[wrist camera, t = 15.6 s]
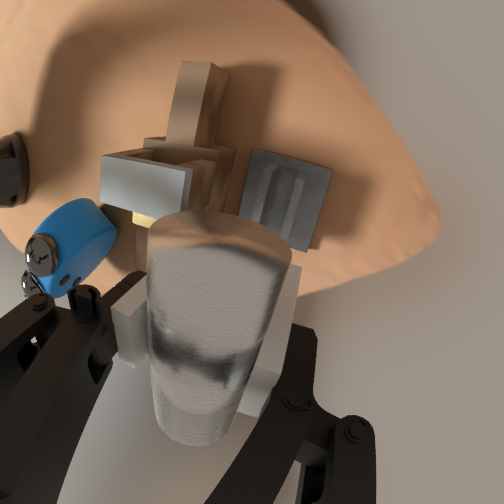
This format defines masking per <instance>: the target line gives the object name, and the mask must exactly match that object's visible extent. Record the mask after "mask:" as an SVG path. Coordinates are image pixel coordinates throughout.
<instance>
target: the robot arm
mask: <svg viewBox="0 0 504 504" xmlns="http://www.w3.org/2000/svg"><path fill="white" fill-rule="evenodd" d="M28 185H29V166H28V158H27V153H26V149H25V146H24V143H23V141H22V139H21V138H20V137H19V136H18V135H17V134H10V135H6V136H4V137H2V138H1V139H0V208H12V207H15V206H18V205H20V204H22V203H23V202H24V200H25V198H26V195H27V191H28ZM301 270H302V267H299V266H296V265H293V264H290V266H289V269H288V272H287V275H286V278H285V281H284V284H283V287H282V290H281V293H280V296H279V299H278V302H277V304H276V307H275V310H274V313H273V316H272V319H271V322H270V324H269V327H268V330H267V333H266V334H265V336H264V339H263V342H262V344H261V347H260V350H259V353H258V355H257V358H256V361H255V363H254V366H253V369H252V371H251V374H250V377H249V379H248V382H247V385H246V387H245V390H244V393H243V396H242V399H241V402H240V404H239V407H238V410H237V411H238V412H241V413H244V414H247V415H251V416H254V417H259V419H258V422H257V424H256V426H255V427H254V429H253V431H252V432H251V434H250V436H249V437H248V439H247V441H246V442H245V444H244V445H243V447H242V449H241V450H240V452H239V453H238V455H237V456H236V458H235V460H234V461H233V463H232V464H231V466H230V467H229V469H228V470H227V472H226V473H225V475H224V476H223V477H222V479H221V480H220V482H219V483H218V485H217V486H216V488H215V489H214V491H213V492H212V493H211V495H210V496H209V497H208V499H207V500H206V501H205V503H204V504H273V502H274V500H275V498H276V496H277V495H278V493H279V491H280V489H281V487H282V485H283V483H284V481H285V479H286V477H287V475H288V473H289V470H290V469H291V466H292V464H293V462H294V460H296V461H298V462H300V463H301V470H300V477H299V483H298V490H297V496H296V502H295V504H376V450H375V435H374V430H373V427H372V426H371V424H370V423H369V422H368V421H367V420H366V419H364V418H362V417H359V416H357V415H348V416H346V417H343V418H341V419H340V418H338V417H336V416H334V415H332V414H330V413H328V412H327V411H325V410H324V409H322V408H321V407H320V406H319V405H318V404H317V402H316V400H315V398H314V395H313V383H314V374H315V364H316V352H317V351H316V350H317V341H318V339H317V337H316V335H315V332H314V330H313V329H311V328H307V327H303V326H300V325H297V324H294V323H292V319H293V314H294V309H295V304H296V298H297V293H298V287H299V282H300V276H301ZM67 294H68V299H69V303H70V308H71V310H70V309H65V308H62V307H58V306H56V305H55V301H54V298H53V297H52V296H51V295H50V294H48V293H37V294H34V295H32V296H30V297H29V298H28V299H26V300H25V301H23V302H22V303H20V304H19V305H18V306H16V307H15V308H14V309H12V310H11V311H10V312H8V313H7V314H6V315H4V316H3V317H2V318H0V504H56V503H57V500H58V497H59V494H60V491H61V488H62V485H63V482H64V479H65V476H66V473H67V470H68V468H69V465H70V462H71V460H72V457H73V455H74V452H75V449H76V447H77V444H78V442H79V440H80V437H81V435H82V432H83V430H84V427H85V425H86V423H87V420H88V418H89V416H90V414H91V411H92V409H93V407H94V405H95V402H96V400H97V398H98V396H99V394H100V392H101V390H102V387H103V385H104V383H105V381H106V379H107V377H108V375H109V373H110V371H111V369H112V365H113V361H112V357H113V356H114V355H115V354H116V353H117V351H118V355H119V360H120V361H121V362H123V363H125V364H127V365H129V366H131V367H133V368H135V369H136V368H137V367H138V366H139V364H140V363H141V362H142V360H143V359H144V358H145V356H146V355H147V354H148V352H149V346H148V327H147V273H145V272H143V271H141V270H138V271H136V272H133V273H130V274H128V275H127V276H126V277H125V278H124V279H122V280H121V282H119V283H118V284H116V285H115V287H113V288H112V289H110V290H109V291H108V292H107V293H106V294H104V295H103V296H102V297H100V292H99V290H98V289H97V288H95V287H93V286H91V285H86V284H84V285H77V286H74V287H72V288H70V289H69V290H68V291H67ZM34 336H35V337H36V340H37V342H36V343H31V339H32V338H33V337H34Z"/></svg>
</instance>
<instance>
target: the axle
mask: <svg viewBox="0 0 504 504" xmlns="http://www.w3.org/2000/svg"><path fill="white" fill-rule="evenodd" d="M291 259H292V252H291V249H290V247H289V245H288V244H287V243H286V241H285V240H284V239H283V238H282V237H281V236H279V235H278V234H277V233H275V232H274V231H272V230H271V229H269V228H267V227H265V226H263V225H261V224H259V223H257V222H255V221H252V220H249V219H246V218H243V217H240V216H236V215H232V214H227V213H222V212H215V211H183V212H177V213H172V214H169V215H166V216H163V217H161V218H160V219H158V220H156V221H155V222H154V223H153V224H152V225H151V226H150V228H149V231H148V242H147V327H148V346H149V359H150V371H151V382H152V390H153V399H154V407H155V413H156V419H157V422H158V424H159V426H160V428H161V429H162V430H163V431H164V433H166V434H167V436H169V437H170V438H171V439H173V440H175V441H176V442H179V443H181V444H184V445H188V446H206V445H210V444H213V443H215V442H217V441H219V440H220V439H222V437H224V436H225V435H226V433H227V432H228V430H229V429H230V426H231V424H232V421H233V419H234V417H235V414H236V412H237V409H238V407H239V404H240V402H241V399H242V396H243V393H244V390H245V387H246V385H247V382H248V379H249V377H250V374H251V371H252V369H253V366H254V363H255V361H256V358H257V355H258V353H259V350H260V347H261V344H262V342H263V339H264V336H265V334H266V333H267V330H268V327H269V324H270V322H271V319H272V316H273V313H274V310H275V307H276V304H277V302H278V299H279V296H280V293H281V290H282V287H283V284H284V281H285V278H286V275H287V272H288V269H289V266H290V263H291Z"/></svg>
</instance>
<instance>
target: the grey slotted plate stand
mask: <svg viewBox="0 0 504 504" xmlns="http://www.w3.org/2000/svg"><path fill="white" fill-rule="evenodd" d="M331 175H332V169H328V168H325V167H322V166H319V165H316V164H312V163H309V162H305V161H302V160H299V159H295V158H291V157H288V156H284V155H280V154H276V153H273V152H269V151H265V150H261V149H256V148H254V149H253V151H252V155H251V160H250V164H249V169H248V173H247V178H246V182H245V187H244V191H243V196H242V200H241V205H240V210H239V214H238V216H240V217H243V218H246V219H249V220H252V221H255V222H257V223H259V224H261V225H263V226H265V227H267V228H269V229H271V230H272V231H274V232H275V233H277V234H278V235H279V236H281V237H282V238H283V239H284V240H285V241H286V243H287V244H288V245H289V247H290V248H293V249H296V250H300V251H303V252H306V253H307V250H308V247H309V244H310V241H311V238H312V235H313V232H314V229H315V226H316V223H317V220H318V217H319V214H320V211H321V208H322V204H323V201H324V198H325V195H326V191H327V188H328V185H329V182H330V178H331Z"/></svg>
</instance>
